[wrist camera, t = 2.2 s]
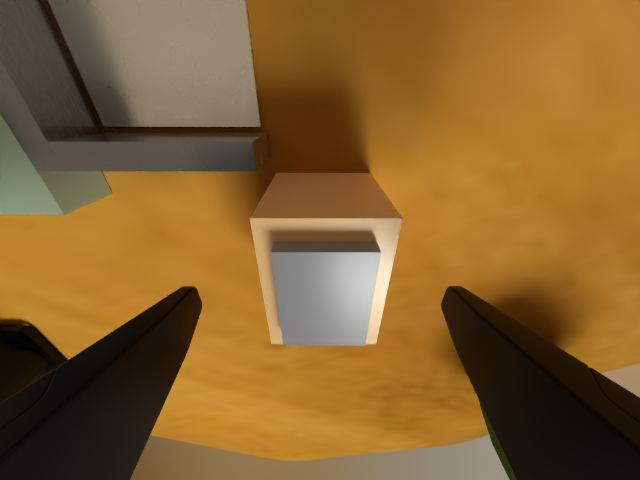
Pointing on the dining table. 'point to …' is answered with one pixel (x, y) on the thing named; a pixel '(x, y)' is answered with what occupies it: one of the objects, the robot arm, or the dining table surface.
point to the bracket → (130, 84)
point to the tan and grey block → (324, 257)
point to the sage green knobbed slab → (42, 183)
